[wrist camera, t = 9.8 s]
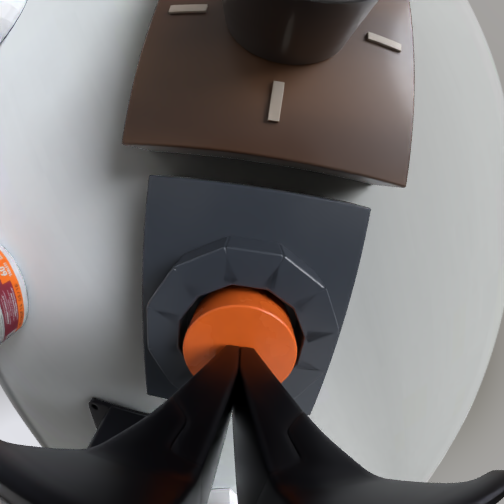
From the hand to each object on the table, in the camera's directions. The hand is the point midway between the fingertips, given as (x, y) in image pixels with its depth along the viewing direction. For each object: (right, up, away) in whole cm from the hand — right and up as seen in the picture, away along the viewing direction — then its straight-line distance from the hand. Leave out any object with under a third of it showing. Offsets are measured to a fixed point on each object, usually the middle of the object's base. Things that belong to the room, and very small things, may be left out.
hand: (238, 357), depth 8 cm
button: (0, +1, +2) cm, 2 cm away
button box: (0, +1, +5) cm, 5 cm away
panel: (+2, +12, +2) cm, 12 cm away
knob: (+2, +11, -1) cm, 12 cm away
